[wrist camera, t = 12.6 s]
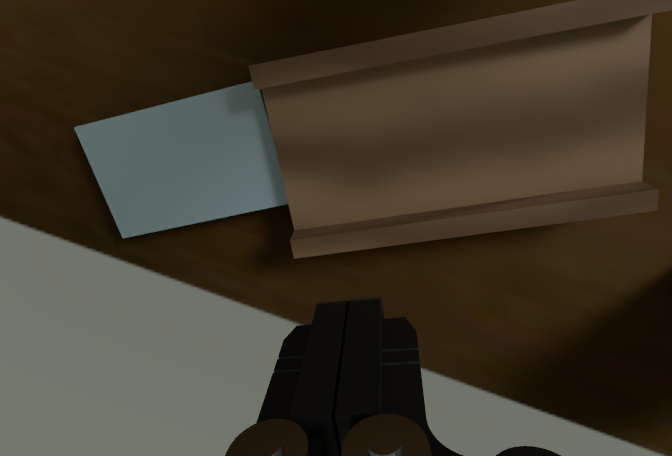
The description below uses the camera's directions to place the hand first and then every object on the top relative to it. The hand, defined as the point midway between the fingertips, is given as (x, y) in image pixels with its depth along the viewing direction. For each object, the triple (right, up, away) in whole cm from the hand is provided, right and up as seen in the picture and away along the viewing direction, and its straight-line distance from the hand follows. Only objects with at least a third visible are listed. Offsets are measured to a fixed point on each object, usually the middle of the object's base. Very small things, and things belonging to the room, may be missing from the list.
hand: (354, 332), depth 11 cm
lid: (-10, +7, +20) cm, 23 cm away
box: (+6, +9, +17) cm, 20 cm away
